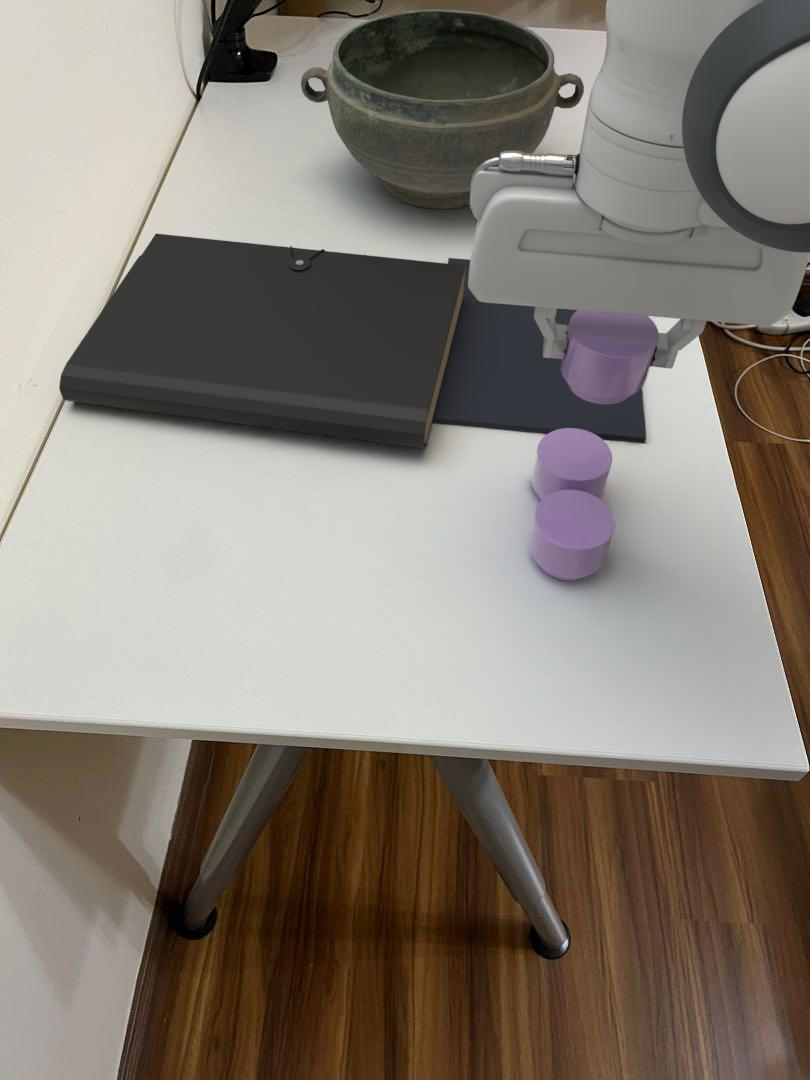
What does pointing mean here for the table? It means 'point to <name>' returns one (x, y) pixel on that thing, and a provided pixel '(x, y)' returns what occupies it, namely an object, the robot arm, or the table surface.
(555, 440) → the purple short cylinder
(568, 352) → the lavender round puck
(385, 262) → the file folder
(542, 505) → the lilac cylinder puck
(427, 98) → the bowl
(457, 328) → the mat
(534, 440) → the table surface
